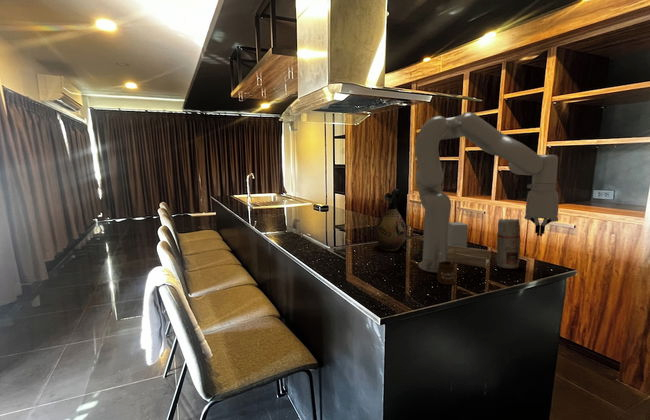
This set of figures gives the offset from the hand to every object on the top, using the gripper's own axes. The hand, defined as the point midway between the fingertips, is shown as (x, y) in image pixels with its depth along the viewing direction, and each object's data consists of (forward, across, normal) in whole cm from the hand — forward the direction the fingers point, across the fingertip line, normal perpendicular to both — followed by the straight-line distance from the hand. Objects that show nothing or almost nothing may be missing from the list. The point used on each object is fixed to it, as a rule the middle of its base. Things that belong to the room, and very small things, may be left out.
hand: (539, 235), depth 122 cm
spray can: (+14, -10, 0) cm, 18 cm away
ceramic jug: (+14, -61, 0) cm, 63 cm away
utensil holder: (+14, -26, -31) cm, 43 cm away
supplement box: (+14, -34, +18) cm, 41 cm away
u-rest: (+14, -28, 0) cm, 32 cm away
